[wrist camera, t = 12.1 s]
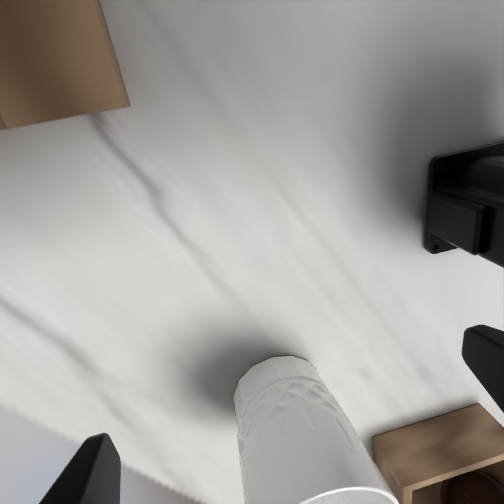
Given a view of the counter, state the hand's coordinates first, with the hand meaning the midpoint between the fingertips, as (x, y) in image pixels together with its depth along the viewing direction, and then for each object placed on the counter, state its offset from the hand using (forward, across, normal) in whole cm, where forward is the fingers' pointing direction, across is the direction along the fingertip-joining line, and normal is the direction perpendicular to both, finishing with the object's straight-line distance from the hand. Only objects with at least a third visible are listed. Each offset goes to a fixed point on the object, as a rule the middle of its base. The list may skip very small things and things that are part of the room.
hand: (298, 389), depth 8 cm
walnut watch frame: (+13, -14, +28) cm, 34 cm away
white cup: (+13, -1, +14) cm, 19 cm away
